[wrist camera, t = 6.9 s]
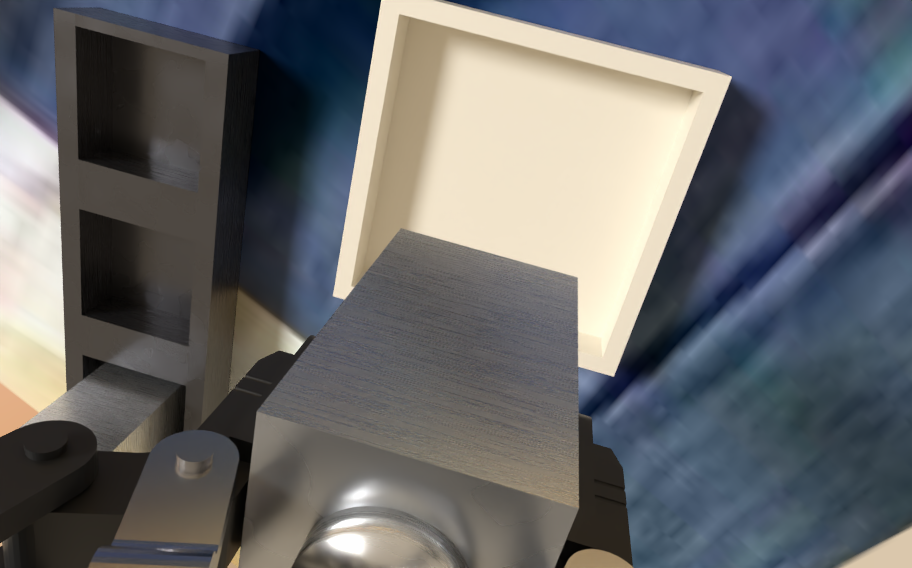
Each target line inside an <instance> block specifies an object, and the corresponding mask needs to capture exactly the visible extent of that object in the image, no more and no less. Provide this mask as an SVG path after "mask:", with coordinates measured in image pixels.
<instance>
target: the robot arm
mask: <svg viewBox="0 0 912 568" xmlns="http://www.w3.org/2000/svg"><path fill="white" fill-rule="evenodd" d="M315 337H316V336H313V335H311V336H309V337H308V339H307V340H306V341H305V342H304V343H303V345H302V346H301V347H300V348H299V350H298V351H297V352H296V353H295V355H293V354H289V353H286V352H283V351H278V352H275V353H273V354H271V355H269V356H267V357H265V358H263V359H260V360H259V361H258V362H257V363H256V364H255V365H254V366H253V367H252V368H251V370H250V371H249V372H248V373H247V374H246V377H245V378H244V377H243V379H242V380H241V381H240V382H239V383H238V384H237V385H236V387H235V389H234V390H232V391H231V392H230V393H229V394H228V395H227V397H226V398H225V399H224V400H223V401H222V402H221V403H220V404H219V406H218V407H217V408H216V409H215V410H214V411H213V412H212V413H211V415H210V416H209V417H208V418H207V419H206V420H205V421H204V422H203V423H202V425H201V426H200V427H199V428H198V429H197V430H189V431H183V432H179V433H176V434H173V435H171V436H168V437H166V438H165V439H163V440H161V441H160V442H159V443H158V444H156V446H155V447H154V448H153V449H152V451H151V452H145V453H133V452H114V451H97V438H96V436H95V434H94V433H93V432H92V431H91V430H90V429H89V428H88V427H86V426H84V425H82V424H79V423H76V422H71V421H64V420H50V421H42V422H37V423H33V424H29V425H26V426H23V427H21V428H19V429H16V430H14V431H12V432H10V433H8V434H6V435H4V436H2V437H0V543H1V542H2V546H1V547H0V568H227V566H228V565H229V563H230V562H231V560H232V559H233V557H234V555H235V554H236V552H237V551H238V549H239V547H240V546H241V541H242V533H243V524H244V516H245V507H246V499H247V490H248V482H249V473H250V465H251V456H252V448H253V439H254V431H255V422H256V414H257V410H258V409H259V408H260V407H261V405H262V404H263V403H264V402H265V400H266V399H267V398H268V396H269V395H270V394H271V393H272V391H273V390H274V389H275V388H276V386H277V385H278V384H279V382H280V381H281V380H282V379H283V377H284V376H285V375H286V374H287V372H288V371H289V370H290V369H291V367H292V366H293V365H294V363H295V362H296V361H297V360H298V358H299V357H300V356H301V355H302V353H303V352H304V351H305V349H306V348H307V347H308V346H309V344H310V343H311V342H312V341H313V339H314V338H315ZM578 432H579V509H578V512H577V514H576V517H575V519H574V522H573V524H572V526H571V529H570V531H569V534H568V536H567V539H566V541H565V544H564V546H563V548H562V551H561V553H560V556H559V558H558V561H557V563H556V565H555V568H633V564H632V554H631V544H630V534H629V524H628V514H627V508H626V494H625V492H624V489H625V484H624V475H623V468H622V466H621V465H620V463H619V461H618V460H617V458H616V456H615V455H614V453H613V451H612V450H611V449H610V448H607V447H603V446H600V445H597V444H593V435H592V418H591V417H589V416H585V415H582V414H579V413H578Z"/></svg>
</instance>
